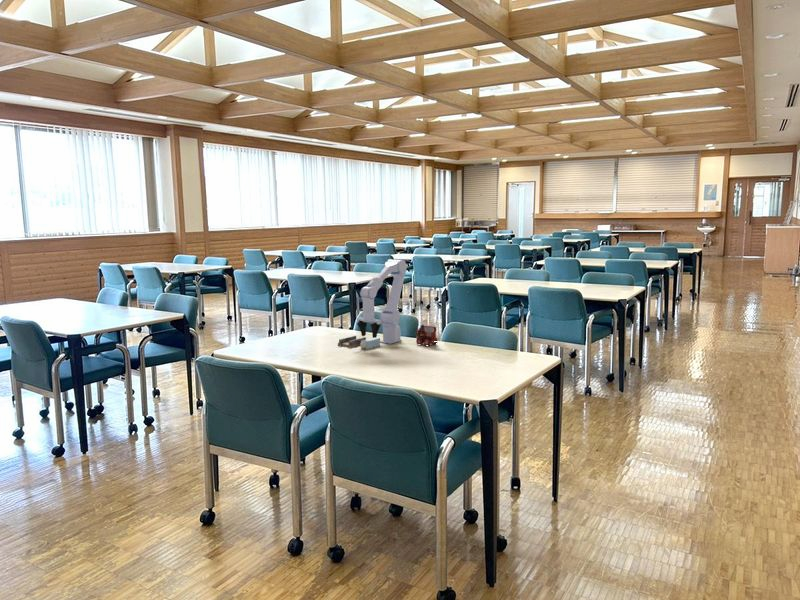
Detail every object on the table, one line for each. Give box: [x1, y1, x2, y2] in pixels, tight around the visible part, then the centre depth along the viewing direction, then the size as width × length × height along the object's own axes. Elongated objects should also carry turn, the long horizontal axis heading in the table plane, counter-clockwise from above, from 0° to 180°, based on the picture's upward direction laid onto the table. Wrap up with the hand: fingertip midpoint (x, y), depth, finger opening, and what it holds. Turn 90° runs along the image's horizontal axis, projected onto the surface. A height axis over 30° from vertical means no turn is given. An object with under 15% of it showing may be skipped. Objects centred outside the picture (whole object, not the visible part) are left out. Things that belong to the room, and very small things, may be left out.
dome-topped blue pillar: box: [359, 337, 381, 350], centre depth 302 cm, size 12×4×4 cm, turn 140°
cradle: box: [337, 335, 367, 348], centre depth 309 cm, size 12×10×3 cm
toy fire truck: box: [415, 324, 438, 347], centre depth 305 cm, size 7×12×10 cm, turn 48°
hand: (369, 336), depth 301 cm, fingers open, 7 cm apart
